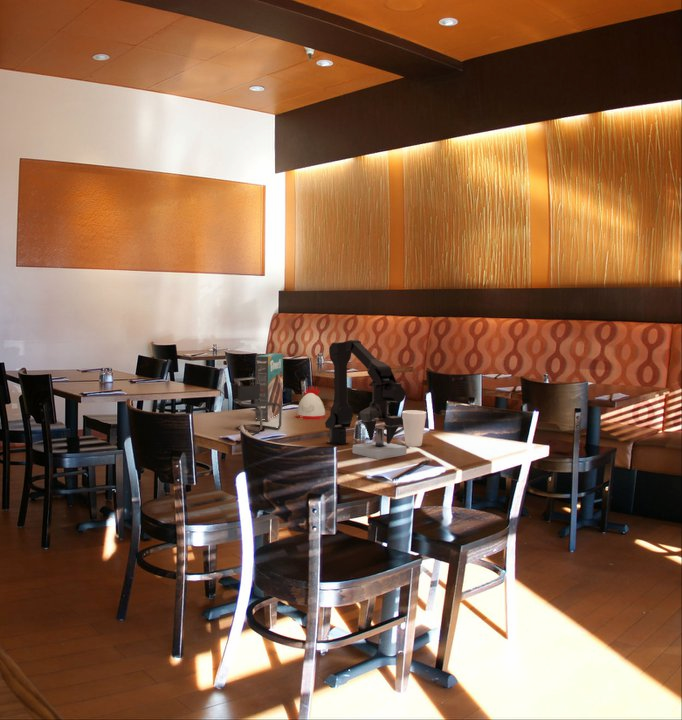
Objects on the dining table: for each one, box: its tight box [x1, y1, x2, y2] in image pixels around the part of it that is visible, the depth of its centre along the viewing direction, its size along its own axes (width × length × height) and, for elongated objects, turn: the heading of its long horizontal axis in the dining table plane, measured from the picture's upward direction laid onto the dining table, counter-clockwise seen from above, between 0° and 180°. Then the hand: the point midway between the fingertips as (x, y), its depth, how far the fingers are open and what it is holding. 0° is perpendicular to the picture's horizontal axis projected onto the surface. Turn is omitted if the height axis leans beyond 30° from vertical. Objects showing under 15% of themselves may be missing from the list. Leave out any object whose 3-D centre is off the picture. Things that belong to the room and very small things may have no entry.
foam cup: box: [401, 409, 427, 448], centre depth 299 cm, size 10×9×13 cm
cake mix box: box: [254, 352, 284, 423], centre depth 360 cm, size 22×6×30 cm, turn 167°
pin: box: [375, 427, 385, 447], centre depth 280 cm, size 3×3×10 cm
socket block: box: [352, 441, 408, 460], centre depth 281 cm, size 14×14×3 cm
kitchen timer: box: [296, 385, 326, 420], centre depth 366 cm, size 14×14×15 cm
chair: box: [233, 376, 283, 433], centre depth 328 cm, size 13×17×22 cm
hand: (379, 441), depth 280 cm, fingers open, 9 cm apart
